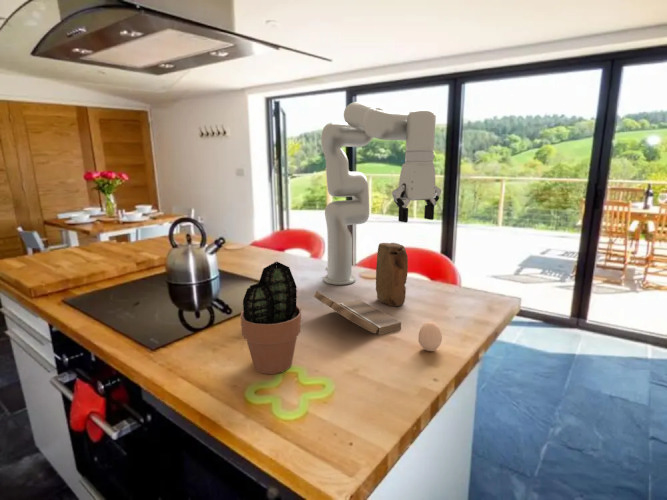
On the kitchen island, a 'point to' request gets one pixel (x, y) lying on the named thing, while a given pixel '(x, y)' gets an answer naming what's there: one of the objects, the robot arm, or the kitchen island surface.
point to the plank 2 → (354, 318)
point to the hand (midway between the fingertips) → (416, 220)
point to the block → (391, 273)
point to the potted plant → (271, 319)
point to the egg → (430, 336)
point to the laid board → (373, 316)
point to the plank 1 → (325, 299)
